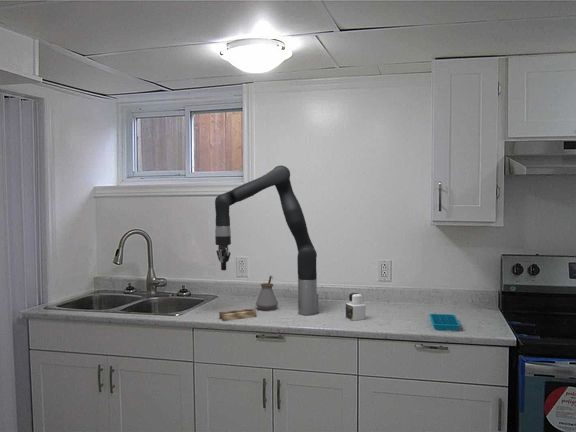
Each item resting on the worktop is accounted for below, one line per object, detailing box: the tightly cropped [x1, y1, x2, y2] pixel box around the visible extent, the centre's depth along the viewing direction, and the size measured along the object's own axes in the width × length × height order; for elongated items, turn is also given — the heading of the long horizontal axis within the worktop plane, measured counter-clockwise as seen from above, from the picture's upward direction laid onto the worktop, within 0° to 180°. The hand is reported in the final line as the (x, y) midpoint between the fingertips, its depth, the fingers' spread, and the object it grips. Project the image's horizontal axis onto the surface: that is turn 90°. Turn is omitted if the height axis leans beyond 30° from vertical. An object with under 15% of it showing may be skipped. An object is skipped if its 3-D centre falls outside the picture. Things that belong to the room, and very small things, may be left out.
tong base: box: [221, 308, 257, 322], centre depth 251 cm, size 18×3×3 cm, turn 119°
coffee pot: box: [255, 275, 279, 312], centre depth 275 cm, size 21×12×15 cm, turn 173°
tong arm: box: [218, 308, 253, 320], centre depth 254 cm, size 17×2×3 cm, turn 114°
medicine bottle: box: [345, 292, 367, 322], centre depth 249 cm, size 7×7×12 cm
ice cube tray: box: [428, 313, 461, 332], centre depth 236 cm, size 12×20×3 cm, turn 169°
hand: (223, 270), depth 258 cm, fingers closed
